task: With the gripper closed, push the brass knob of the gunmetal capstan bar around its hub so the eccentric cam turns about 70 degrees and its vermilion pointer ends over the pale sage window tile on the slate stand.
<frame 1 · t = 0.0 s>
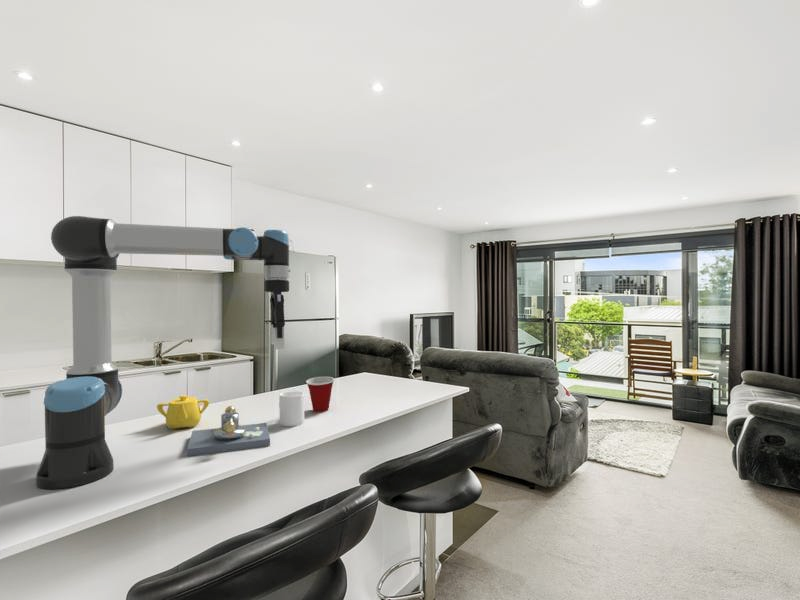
hand: (277, 346, 134), 28 cm above the table, fingers open, 13 cm apart
yellow sugar bowl: (183, 426, 144), on the table
plastic cup: (320, 410, 163), on the table
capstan: (230, 423, 128), point 5 cm above the table, hinge at 0.0°
cup: (289, 422, 148), on the table
stand: (230, 441, 128), on the table
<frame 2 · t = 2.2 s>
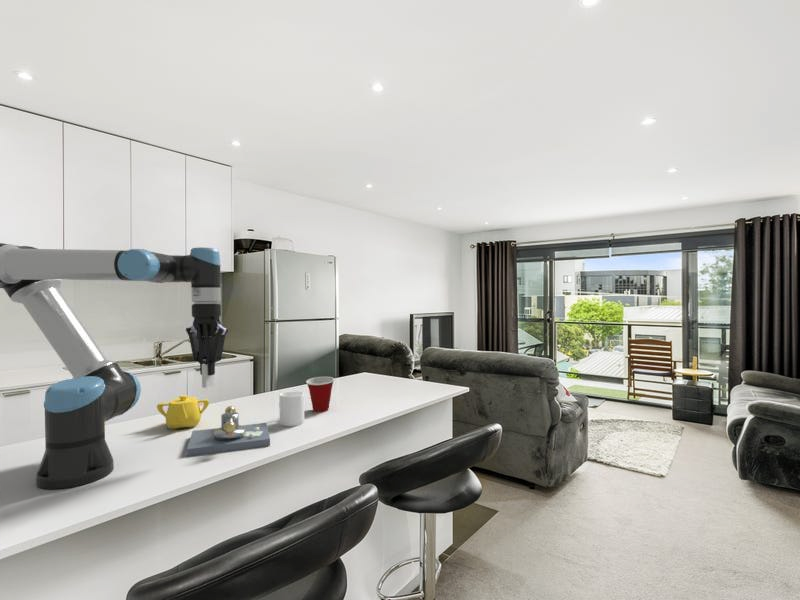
hand: (207, 386, 120), 19 cm above the table, fingers closed
nothing on the table moved.
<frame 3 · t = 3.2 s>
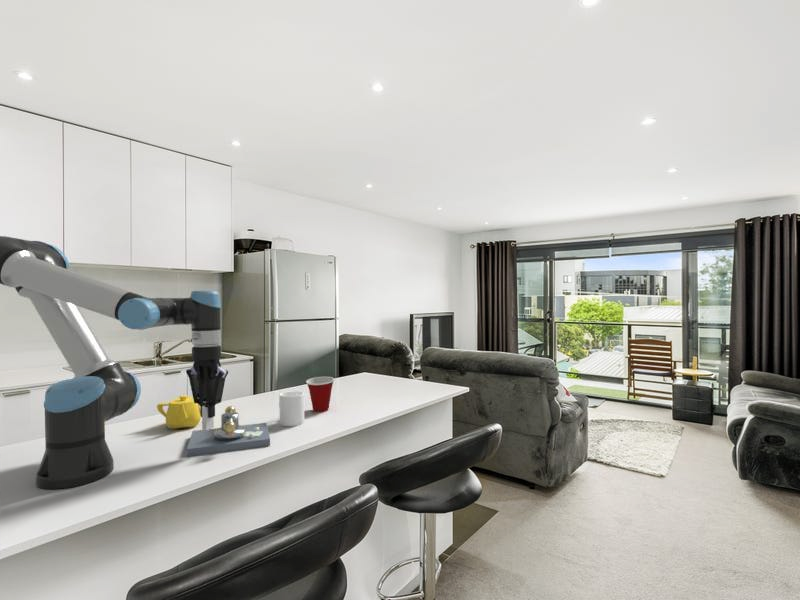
hand: (208, 428, 120), 7 cm above the table, fingers closed
nothing on the table moved.
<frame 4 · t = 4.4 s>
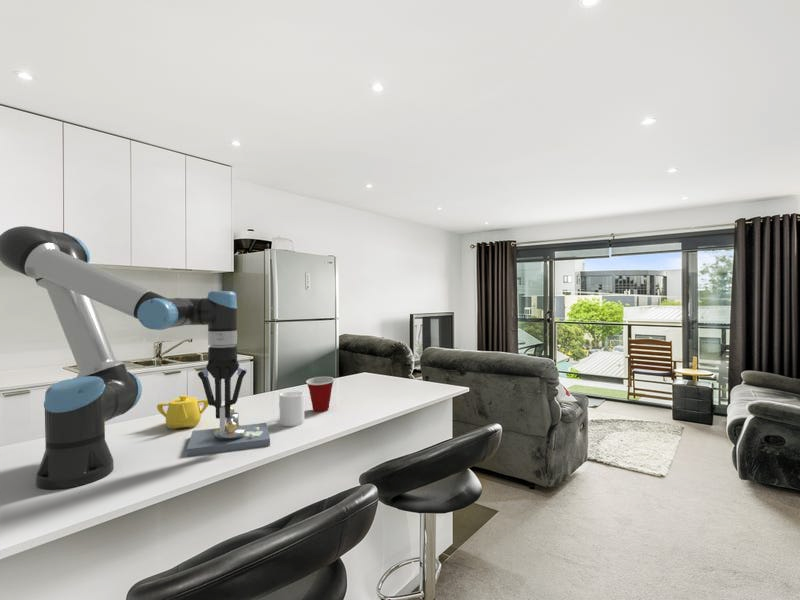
hand: (223, 429, 119), 7 cm above the table, fingers closed
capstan: (230, 423, 128), point 5 cm above the table, hinge at 2.8°, touching gripper
everything else where it was.
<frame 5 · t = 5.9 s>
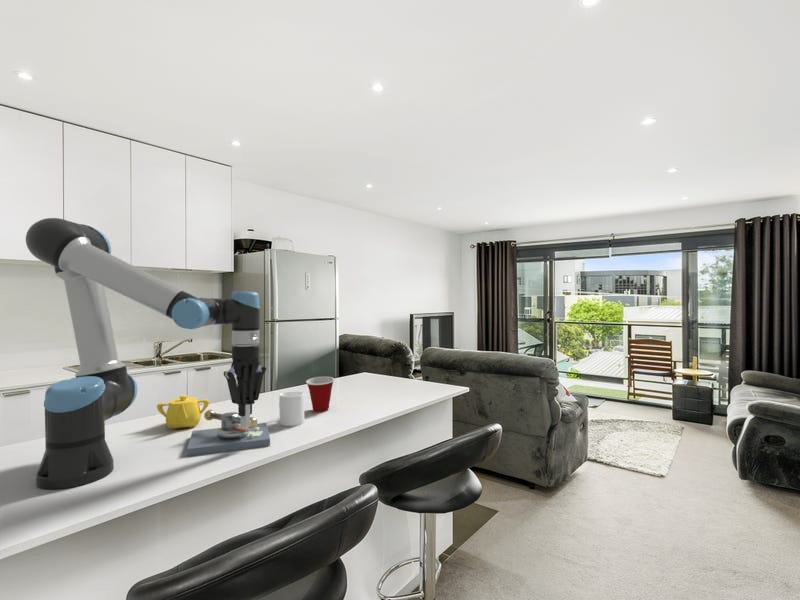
hand: (245, 426, 122), 6 cm above the table, fingers closed
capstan: (230, 423, 128), point 5 cm above the table, hinge at 41.5°, touching gripper
everything else where it was.
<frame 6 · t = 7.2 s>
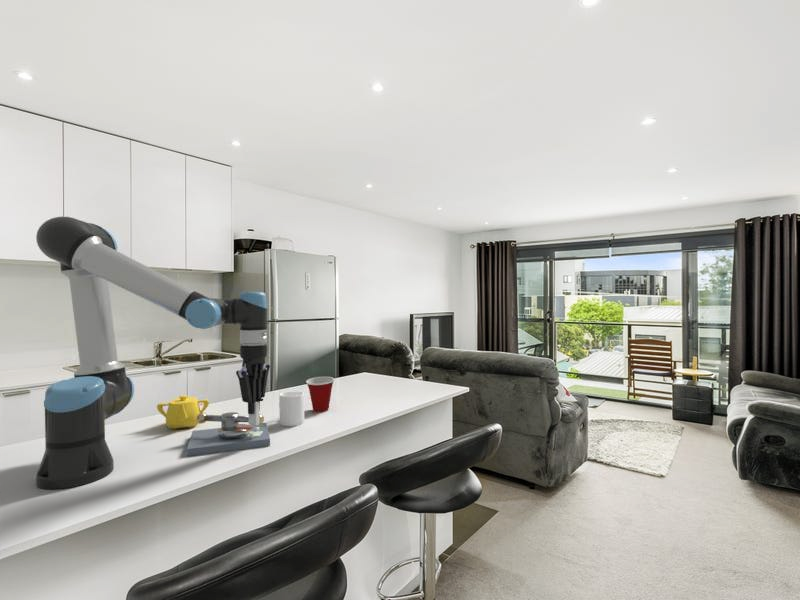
hand: (254, 423, 125), 6 cm above the table, fingers closed
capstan: (230, 423, 128), point 5 cm above the table, hinge at 62.6°, touching gripper
everything else where it was.
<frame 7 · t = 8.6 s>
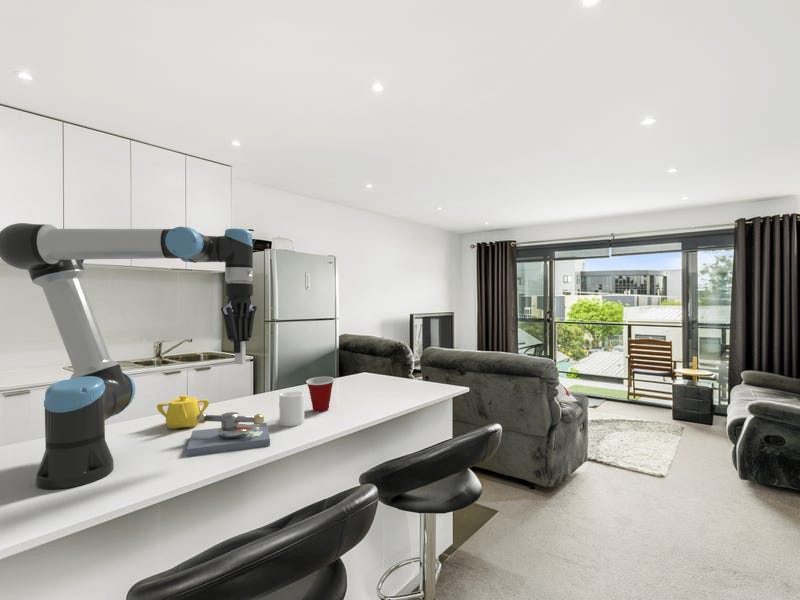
hand: (240, 363, 123), 24 cm above the table, fingers closed
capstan: (230, 423, 128), point 5 cm above the table, hinge at 62.6°
everything else where it was.
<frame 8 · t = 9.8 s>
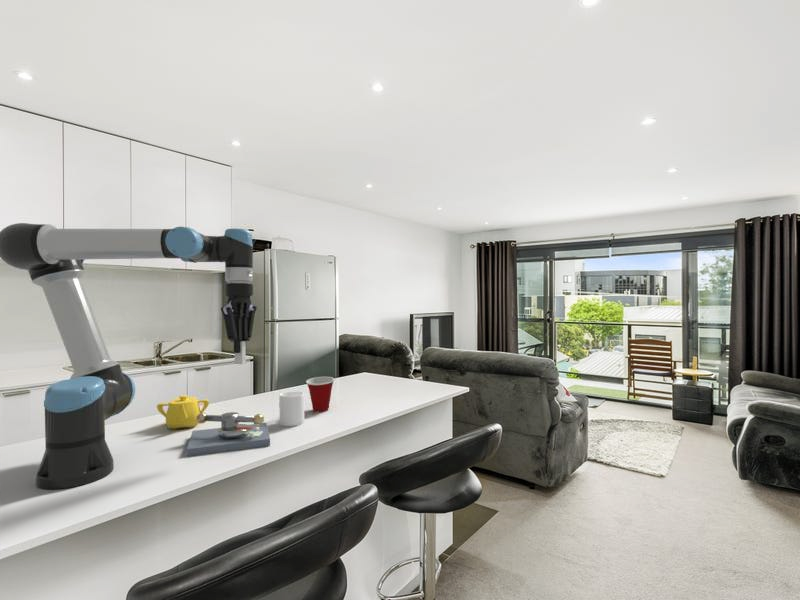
hand: (240, 363, 123), 24 cm above the table, fingers closed
nothing on the table moved.
at the end: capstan at +63° (first picture: +0°) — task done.
